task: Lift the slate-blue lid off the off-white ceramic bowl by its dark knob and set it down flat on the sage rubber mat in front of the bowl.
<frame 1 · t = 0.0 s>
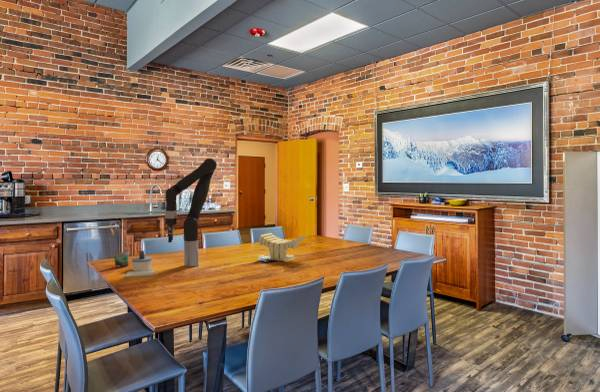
hand: (170, 241, 247), 17 cm above the table, tool pointing down, fingers open, 8 cm apart
slatted curved stool: (282, 259, 269), on the table
food container: (124, 266, 248), on the table
mat: (140, 274, 228), on the table
bowl: (142, 269, 241), on the table
lid: (142, 260, 240), point 6 cm above the table, touching bowl
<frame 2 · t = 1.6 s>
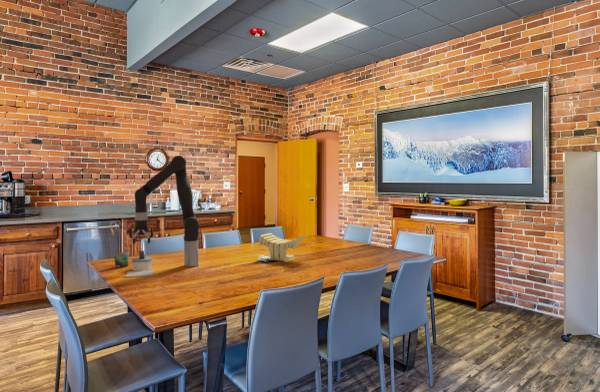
hand: (141, 243, 240), 17 cm above the table, tool pointing down, fingers open, 8 cm apart
nothing on the table moved.
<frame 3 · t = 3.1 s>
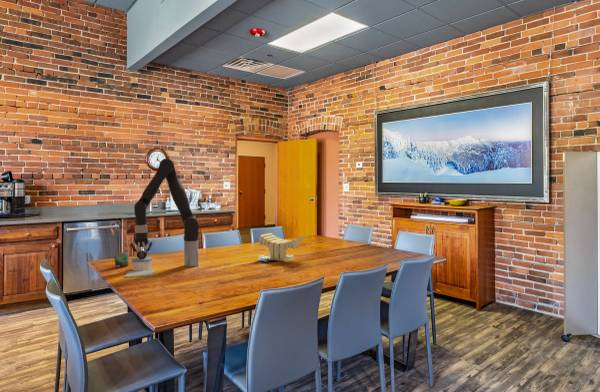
hand: (141, 257, 240), 8 cm above the table, tool pointing down, fingers closed on lid, 3 cm apart
lid: (142, 260, 240), point 6 cm above the table, touching bowl, gripper
everything else where it was.
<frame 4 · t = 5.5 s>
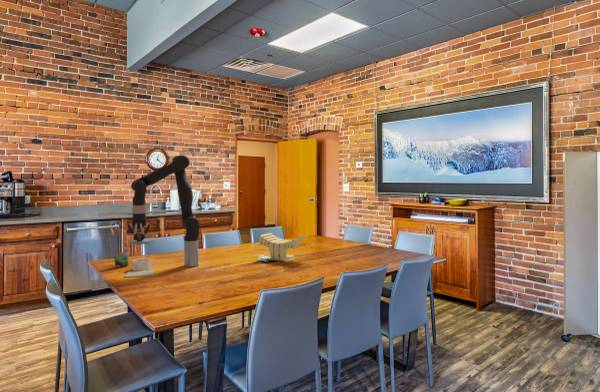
hand: (139, 240, 228), 21 cm above the table, tool pointing down, fingers closed on lid, 3 cm apart
lid: (139, 242, 228), point 20 cm above the table, touching gripper
everything else where it was.
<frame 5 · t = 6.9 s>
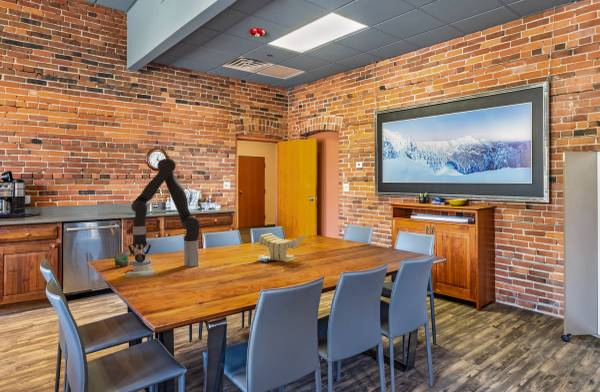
hand: (140, 260, 228), 8 cm above the table, tool pointing down, fingers closed on lid, 3 cm apart
lid: (140, 263, 228), point 7 cm above the table, touching gripper
everything else where it was.
when the fingers open (4 cm above the table, at t = 8.1 s): lid drops 1 cm, resting on mat.
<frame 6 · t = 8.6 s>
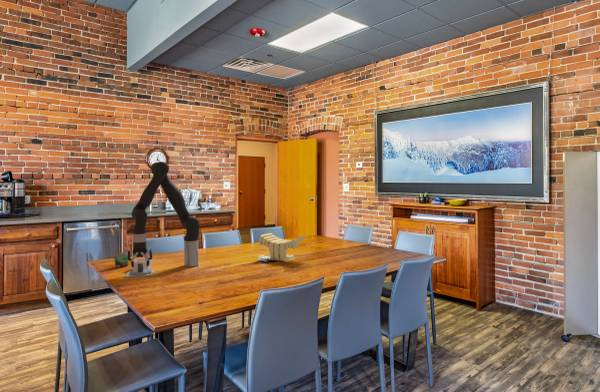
hand: (140, 266, 228), 5 cm above the table, tool pointing down, fingers open, 8 cm apart
lid: (140, 273, 228), point 1 cm above the table, touching mat
everything else where it was.
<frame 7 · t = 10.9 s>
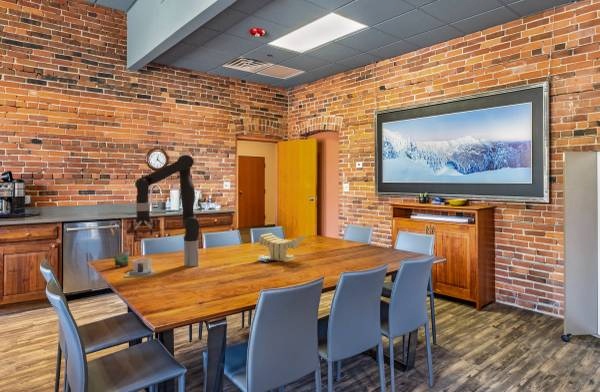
hand: (143, 235, 234), 23 cm above the table, tool pointing down, fingers open, 8 cm apart
nothing on the table moved.
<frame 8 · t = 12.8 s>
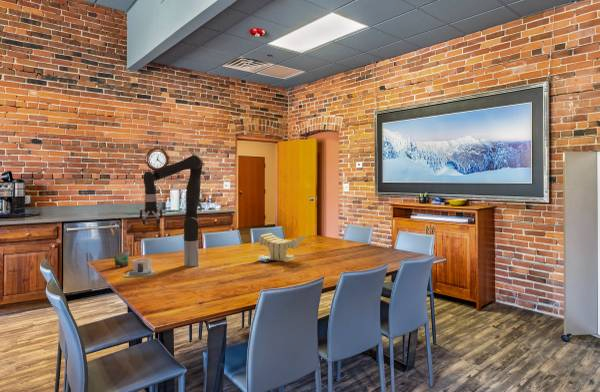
hand: (151, 224, 249), 28 cm above the table, tool pointing down, fingers open, 8 cm apart
nothing on the table moved.
at the end: lid inside the target area on the mat (0.1 cm from its centre), point 0.6 cm above the mat's base; lid tilted 0°; the gripper is holding nothing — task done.
